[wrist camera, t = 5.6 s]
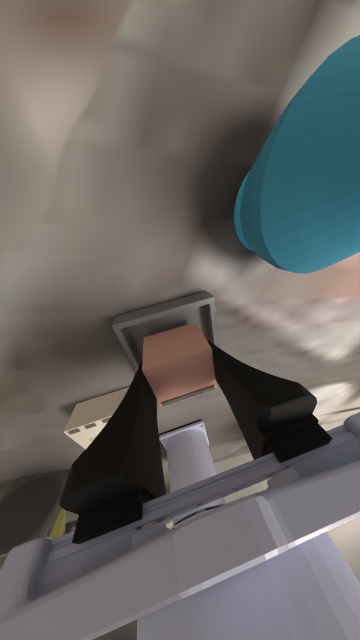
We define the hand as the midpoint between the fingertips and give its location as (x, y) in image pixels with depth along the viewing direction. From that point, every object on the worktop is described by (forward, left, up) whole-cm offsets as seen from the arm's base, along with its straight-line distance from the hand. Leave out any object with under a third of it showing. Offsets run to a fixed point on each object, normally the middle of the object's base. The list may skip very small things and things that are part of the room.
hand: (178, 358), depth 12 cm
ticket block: (-10, +10, -4) cm, 15 cm away
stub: (0, 0, -2) cm, 2 cm away
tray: (0, 0, -4) cm, 4 cm away
